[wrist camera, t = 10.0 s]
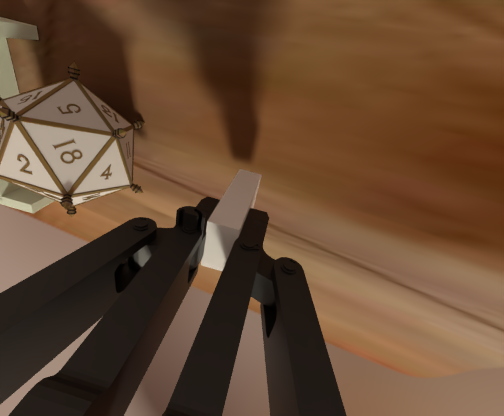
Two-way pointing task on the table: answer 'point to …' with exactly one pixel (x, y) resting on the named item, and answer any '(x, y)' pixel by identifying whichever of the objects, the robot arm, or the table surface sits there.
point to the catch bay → (4, 85)
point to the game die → (66, 143)
